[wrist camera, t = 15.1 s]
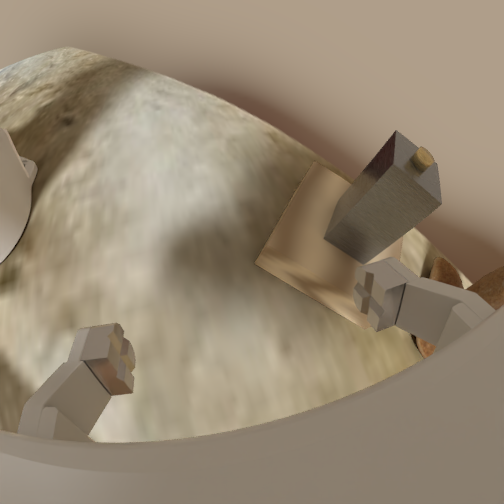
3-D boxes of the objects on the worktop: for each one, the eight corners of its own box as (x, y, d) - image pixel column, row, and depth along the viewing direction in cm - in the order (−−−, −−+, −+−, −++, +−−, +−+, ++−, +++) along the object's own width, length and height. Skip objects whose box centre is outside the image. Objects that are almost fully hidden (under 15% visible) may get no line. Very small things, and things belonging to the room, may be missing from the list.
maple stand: (254, 263, 27) (267, 244, 24) (301, 181, 35) (314, 160, 31) (364, 329, 28) (388, 319, 24) (386, 238, 35) (404, 223, 31)
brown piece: (446, 388, 27) (539, 363, 14) (399, 344, 28) (507, 303, 15) (465, 306, 35) (535, 269, 22) (426, 261, 36) (499, 209, 23)
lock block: (323, 238, 26) (403, 152, 16) (337, 200, 29) (403, 120, 19) (363, 265, 26) (452, 195, 16) (373, 224, 29) (444, 155, 19)
